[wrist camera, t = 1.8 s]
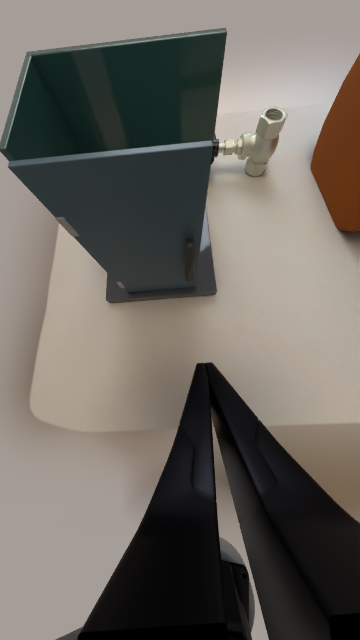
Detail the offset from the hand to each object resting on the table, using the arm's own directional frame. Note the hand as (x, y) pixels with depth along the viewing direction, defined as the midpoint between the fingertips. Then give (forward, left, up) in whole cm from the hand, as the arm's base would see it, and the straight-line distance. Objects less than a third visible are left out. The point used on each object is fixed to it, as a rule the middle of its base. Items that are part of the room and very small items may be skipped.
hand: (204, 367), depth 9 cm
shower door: (+9, +6, -11) cm, 15 cm away
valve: (+35, -4, -13) cm, 37 cm away
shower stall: (+16, +7, -13) cm, 22 cm away
